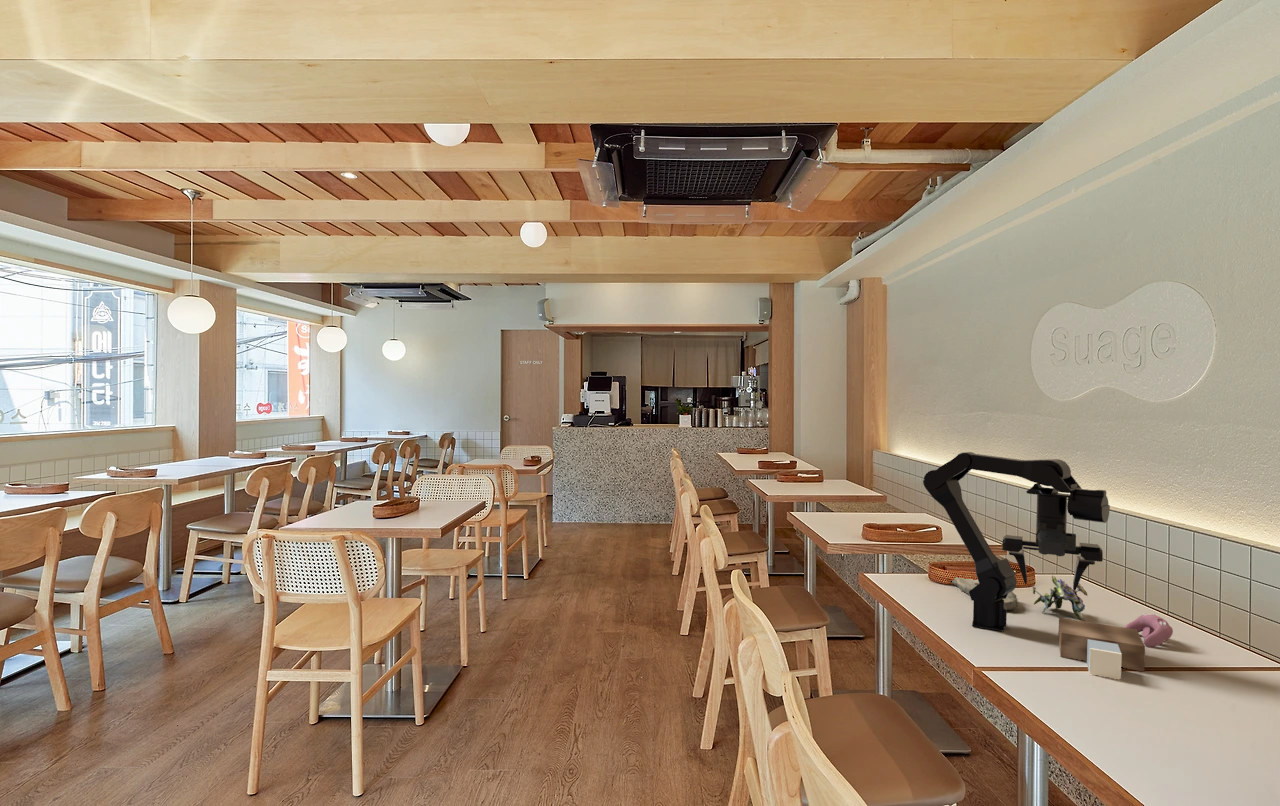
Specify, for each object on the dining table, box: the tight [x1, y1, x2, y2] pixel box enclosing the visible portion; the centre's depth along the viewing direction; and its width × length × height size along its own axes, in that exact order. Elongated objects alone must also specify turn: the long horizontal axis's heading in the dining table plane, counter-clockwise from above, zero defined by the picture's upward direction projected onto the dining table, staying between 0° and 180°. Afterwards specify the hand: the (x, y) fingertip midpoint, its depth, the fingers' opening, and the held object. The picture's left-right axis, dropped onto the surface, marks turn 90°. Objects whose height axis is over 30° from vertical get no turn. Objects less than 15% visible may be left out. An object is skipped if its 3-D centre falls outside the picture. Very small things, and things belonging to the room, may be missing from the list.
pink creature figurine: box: [1124, 613, 1174, 648], centre depth 152 cm, size 10×5×7 cm, turn 169°
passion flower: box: [1032, 575, 1088, 620], centre depth 170 cm, size 11×11×12 cm
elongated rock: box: [951, 577, 1018, 611], centre depth 188 cm, size 35×5×10 cm
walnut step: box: [1057, 617, 1146, 673], centre depth 142 cm, size 14×12×5 cm
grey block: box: [1086, 639, 1122, 680], centre depth 133 cm, size 5×5×6 cm
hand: (1049, 586), depth 150 cm, fingers open, 9 cm apart
